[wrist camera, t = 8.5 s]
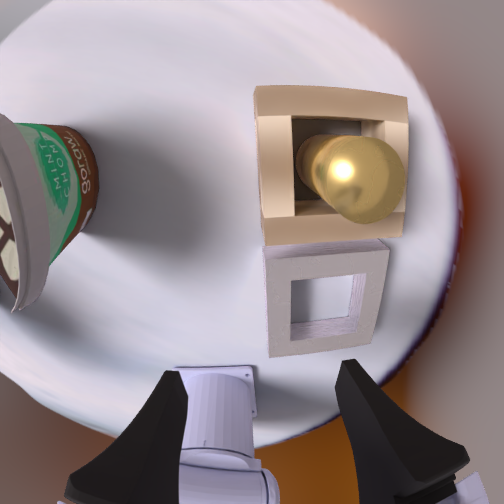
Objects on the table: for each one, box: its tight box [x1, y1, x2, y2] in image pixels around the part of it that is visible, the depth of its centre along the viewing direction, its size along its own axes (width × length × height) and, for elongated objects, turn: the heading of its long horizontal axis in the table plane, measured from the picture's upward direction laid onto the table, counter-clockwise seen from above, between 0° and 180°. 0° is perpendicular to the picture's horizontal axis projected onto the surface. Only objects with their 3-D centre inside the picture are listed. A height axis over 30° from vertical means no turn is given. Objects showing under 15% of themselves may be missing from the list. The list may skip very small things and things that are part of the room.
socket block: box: [262, 238, 390, 358], centre depth 21 cm, size 9×9×2 cm
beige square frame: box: [253, 85, 408, 246], centre depth 16 cm, size 9×9×4 cm
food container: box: [0, 114, 99, 313], centre depth 12 cm, size 12×6×10 cm, turn 29°
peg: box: [296, 134, 405, 224], centre depth 14 cm, size 4×4×7 cm
